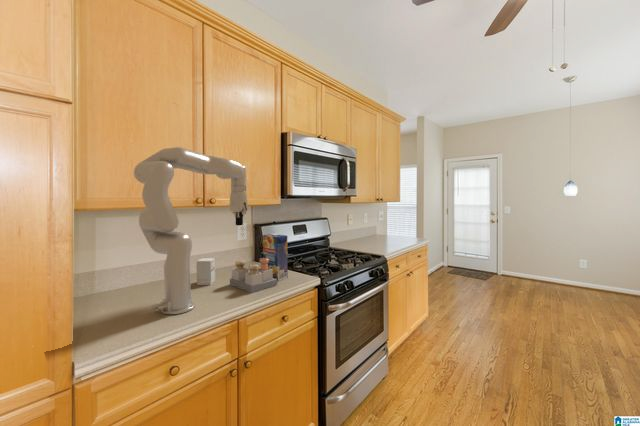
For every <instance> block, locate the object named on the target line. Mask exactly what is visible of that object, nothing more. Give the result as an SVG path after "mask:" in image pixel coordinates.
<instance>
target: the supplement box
mask: <svg viewBox="0 0 640 426" xmlns="http://www.w3.org/2000/svg"><path fill="white" fill-rule="evenodd" d="M215 260H216V258H213V257H207V258H205V257H203V258H200V259H198V260H197V261H196V286H212V285H213V283H214V282H215V281H216V262H215Z"/></svg>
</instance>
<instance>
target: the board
mask: <svg viewBox="0 0 640 426" xmlns="http://www.w3.org/2000/svg"><path fill="white" fill-rule="evenodd" d="M257 272H258V274H256V275H250V271H249V268H247V267H244V270H240V271H238V270H237V269H236V268H232V269H231V278H229V286H233V287H235V288H237V289H240V290H243V291H244V292H248V293H250V294H252V293H256V292H259V291H263V290H265V289H269V288H272V287H276V286H278V281H277V279H274V278H273V269H269V268H268V270H266V271H261V268H259V269H257Z"/></svg>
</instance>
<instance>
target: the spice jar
mask: <svg viewBox="0 0 640 426" xmlns="http://www.w3.org/2000/svg"><path fill="white" fill-rule="evenodd" d="M259 267H260V266H259V264H253V263H252V264H249V265H248V271H249V272H250V275H256V274H258V272H257V269H260V268H259Z"/></svg>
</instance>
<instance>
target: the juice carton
mask: <svg viewBox="0 0 640 426" xmlns="http://www.w3.org/2000/svg"><path fill="white" fill-rule="evenodd" d="M262 249H263V250H262V253H263V255H262V256H263V257H262V258H269V262H268V268H269V269H273V278H274V279H277V282H279V281H282V280H283V281H284V280H286V279H288V268H289V267H288V266H289V265H288V235H285V234H277V233H268V234H263V235H262Z"/></svg>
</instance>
